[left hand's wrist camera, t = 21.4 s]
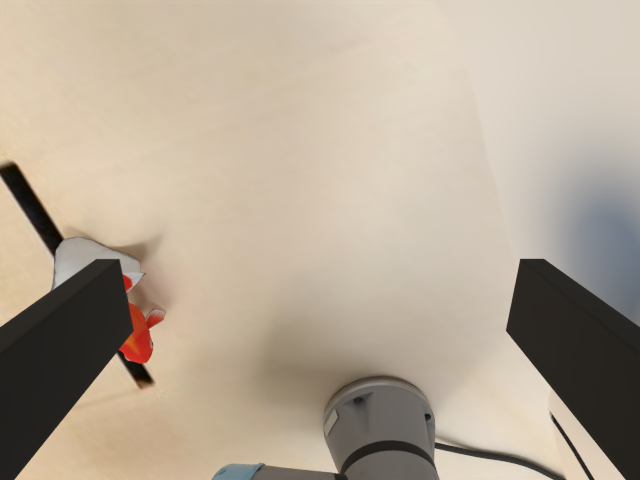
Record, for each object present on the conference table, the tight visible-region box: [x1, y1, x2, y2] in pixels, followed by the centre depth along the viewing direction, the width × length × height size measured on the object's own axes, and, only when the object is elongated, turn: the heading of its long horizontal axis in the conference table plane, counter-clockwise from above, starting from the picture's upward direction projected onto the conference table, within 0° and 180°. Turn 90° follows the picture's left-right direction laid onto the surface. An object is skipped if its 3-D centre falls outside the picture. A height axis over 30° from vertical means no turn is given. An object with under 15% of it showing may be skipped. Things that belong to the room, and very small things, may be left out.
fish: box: [51, 237, 166, 363], centre depth 42 cm, size 11×16×10 cm
